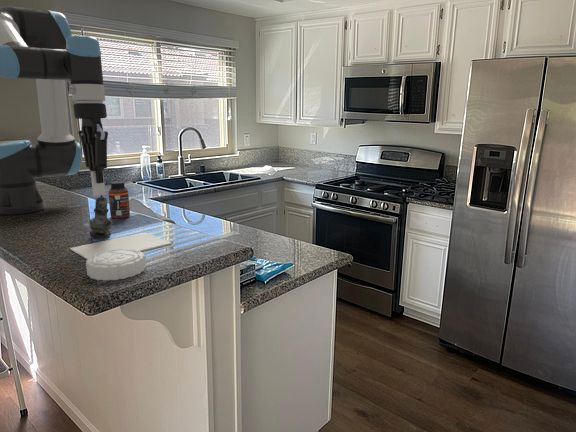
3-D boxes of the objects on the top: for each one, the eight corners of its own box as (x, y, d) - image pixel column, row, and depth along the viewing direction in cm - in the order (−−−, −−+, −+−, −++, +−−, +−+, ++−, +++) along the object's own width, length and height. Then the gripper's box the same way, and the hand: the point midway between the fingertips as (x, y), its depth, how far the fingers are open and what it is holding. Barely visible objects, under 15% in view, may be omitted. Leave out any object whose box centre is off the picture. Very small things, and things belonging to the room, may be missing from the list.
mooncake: (74, 277, 93) (72, 261, 92) (114, 259, 104) (112, 244, 103) (120, 284, 89) (118, 268, 88) (157, 265, 100) (156, 250, 99)
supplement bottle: (123, 219, 140) (120, 184, 137) (106, 218, 141) (103, 183, 138) (133, 215, 145) (130, 180, 143) (117, 214, 146) (114, 180, 144)
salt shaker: (84, 230, 120) (85, 191, 115) (105, 226, 124) (107, 188, 119) (94, 241, 117) (95, 201, 112) (115, 236, 121) (117, 198, 116)
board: (70, 249, 110) (70, 248, 110) (145, 233, 124) (144, 232, 124) (93, 263, 100) (92, 261, 100) (171, 244, 114) (171, 242, 114)
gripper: (64, 103, 113) (75, 194, 118) (84, 101, 104) (95, 200, 109) (94, 103, 118) (103, 190, 123) (115, 102, 109) (124, 196, 114)
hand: (99, 195), depth 116 cm, fingers closed
